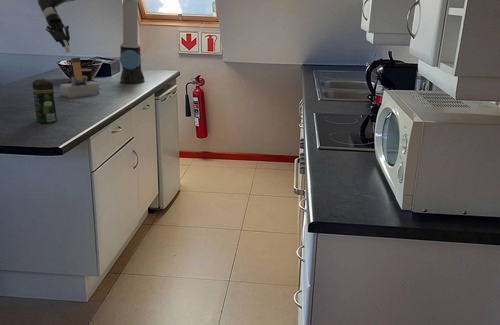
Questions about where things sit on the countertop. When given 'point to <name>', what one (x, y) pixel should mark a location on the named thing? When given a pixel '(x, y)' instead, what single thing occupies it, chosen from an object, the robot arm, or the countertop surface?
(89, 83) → the breaker box
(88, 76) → the coffee mug
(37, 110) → the coffee jar
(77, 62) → the lever
